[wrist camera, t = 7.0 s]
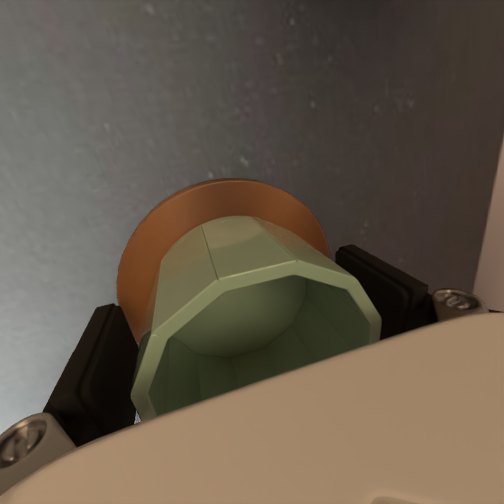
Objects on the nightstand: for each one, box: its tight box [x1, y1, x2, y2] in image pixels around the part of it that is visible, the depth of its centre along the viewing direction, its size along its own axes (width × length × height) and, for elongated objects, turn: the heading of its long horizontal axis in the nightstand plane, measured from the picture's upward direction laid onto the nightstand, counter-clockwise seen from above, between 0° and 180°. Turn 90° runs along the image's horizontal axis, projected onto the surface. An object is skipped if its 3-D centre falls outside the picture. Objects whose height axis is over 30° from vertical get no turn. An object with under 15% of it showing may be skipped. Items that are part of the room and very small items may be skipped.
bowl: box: [131, 216, 382, 421], centre depth 10 cm, size 8×7×5 cm
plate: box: [117, 178, 330, 344], centre depth 12 cm, size 10×10×1 cm
